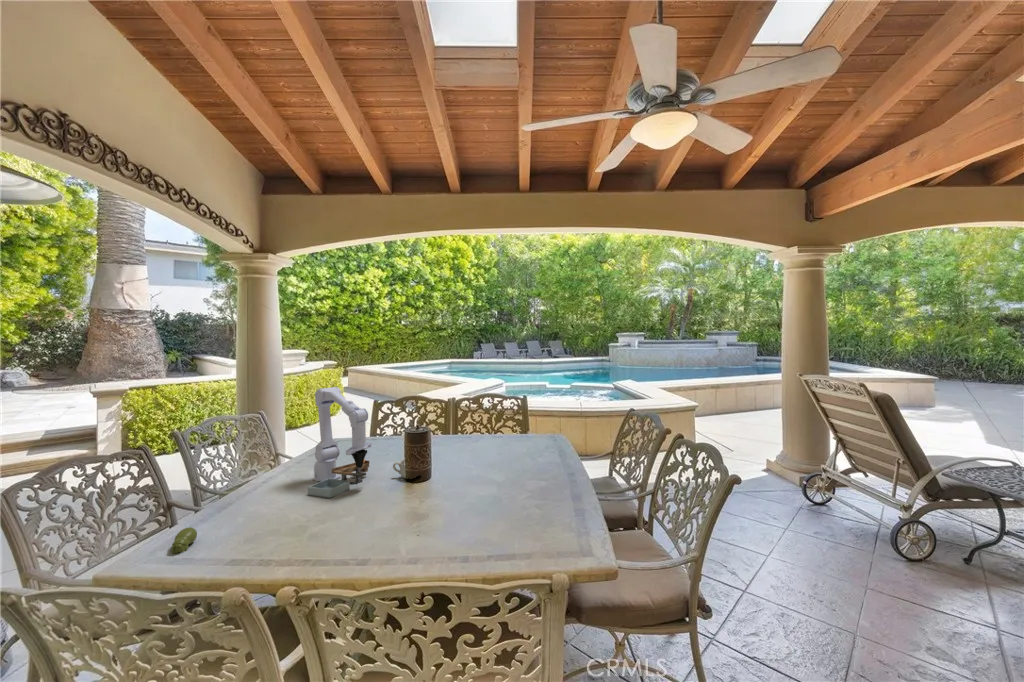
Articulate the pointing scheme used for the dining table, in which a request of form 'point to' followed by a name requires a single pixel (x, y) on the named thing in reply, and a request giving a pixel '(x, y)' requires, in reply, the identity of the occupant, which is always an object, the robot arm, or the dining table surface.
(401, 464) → the teacup
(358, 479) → the stand
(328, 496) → the tray
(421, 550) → the dining table surface
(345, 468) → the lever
